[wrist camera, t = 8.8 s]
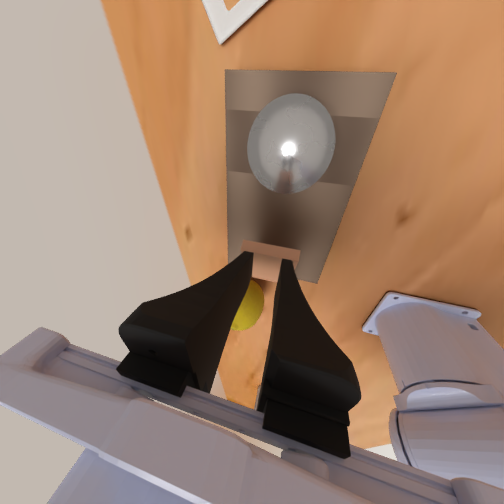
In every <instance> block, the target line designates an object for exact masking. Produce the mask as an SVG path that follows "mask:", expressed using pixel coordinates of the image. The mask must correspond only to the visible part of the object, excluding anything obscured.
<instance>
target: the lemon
mask: <svg viewBox="0 0 504 504" xmlns="http://www.w3.org/2000/svg"><path fill="white" fill-rule="evenodd" d="M263 306H264V294H263V291H262V289H261V287H260V286H259V285H258V284H257V283H256V282H255V281H253V280H250V283H249V287H248V289H247V292H246V294H245V296H244V298H243V300H242V302H241V305H240V307H239V309H238V311H237V313H236V315H235V318H234V320H233V323H232V326H231V328H230V329H232V330H246V329H248V328H250V327H252V326H253V325H254V324H255V323H256V322H257V320H258V319H259V317H260V315H261V313H262V310H263Z"/></svg>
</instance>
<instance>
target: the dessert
mask: <svg viewBox="0 0 504 504" xmlns="http://www.w3.org/2000/svg"><path fill="white" fill-rule="evenodd" d="M267 1H268V0H240V1H239V2H238V3H237V4H236V5H235V6H234V7H233V8H232V9H231V10H230V11H228V10H227V9H226V6H225V4H224V1H223V0H202V2H203V5H204V7H205V10H206V13H207V15H208V18H209V20H210V23H211V25H212V28H213V31H214V33H215V36H216V38H217V41H218V43H219V44H222V43H223V42H224V41H225V40H226V39H227V38H228V37H230V36H231V35H232V34H233V33H234V32H235V31H236V30H237V29H238V28H239V27H240V26H241V25H242V24H243V23H244V22H246V21H247V20H248V19H249V18H250V17H251V16H252V15H253V14H254V13H255V12H256V11H257V10H258V9H259V8H260V7H262V6H263V5H264V4H265V3H266V2H267Z"/></svg>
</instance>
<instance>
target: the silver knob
mask: <svg viewBox="0 0 504 504" xmlns="http://www.w3.org/2000/svg"><path fill="white" fill-rule="evenodd" d="M334 148H335V129H334V124H333V121H332V118H331V116H330V114H329V112H328V111H327V109H326V108H325V107H324V106H323V105H322V104H321V103H320V102H319V101H318V100H316V99H315V98H313V97H311V96H308V95H305V94H298V93H294V94H287V95H283V96H281V97H278V98H276V99H274V100H273V101H271V102H270V103H269V104H267V105H266V106H265V107H264V108H263V109H262V110H261V112H260V113H259V114H258V115H257V117H256V119H255V120H254V122H253V125H252V127H251V130H250V133H249V137H248V144H247V154H248V160H249V164H250V167H251V170H252V172H253V174H254V175H255V177H256V178H257V180H258V181H259V182H260V183H261V184H262V185H263V186H265V187H266V188H268V189H269V190H271V191H274V192H277V193H282V194H292V193H297V192H300V191H303V190H305V189H307V188H309V187H310V186H312V185H313V184H314V183H315V182H317V181H318V180H319V179H320V178H321V176H322V175H323V174H324V173H325V171H326V169H327V168H328V166H329V164H330V162H331V159H332V156H333V153H334Z"/></svg>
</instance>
